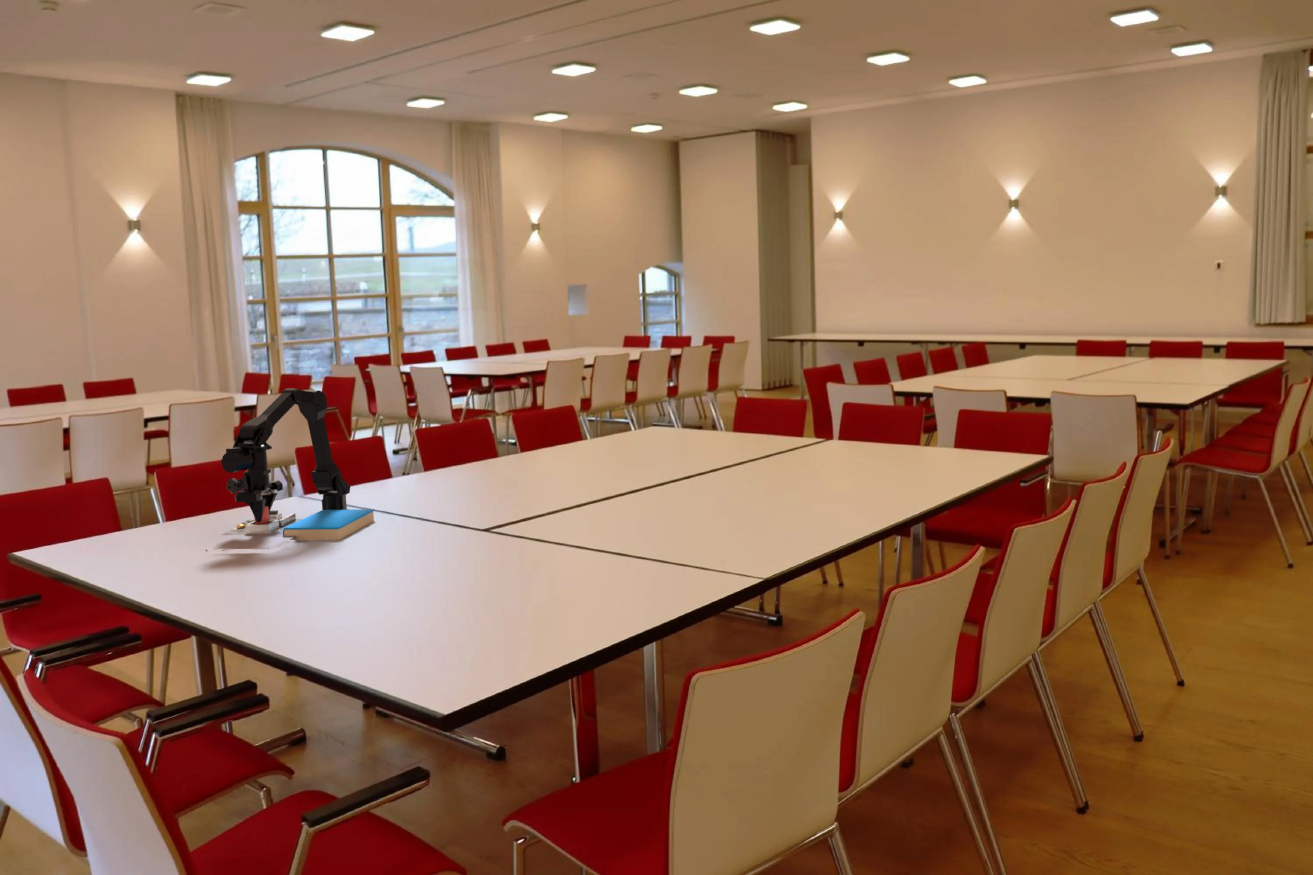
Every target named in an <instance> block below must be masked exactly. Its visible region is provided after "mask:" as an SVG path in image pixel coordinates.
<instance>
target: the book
mask: <svg viewBox="0 0 1313 875" xmlns="http://www.w3.org/2000/svg"><path fill="white" fill-rule="evenodd" d="M374 512H375V509H374V508H373V509H372V508H371V509H363V508H362V509H349V510H320V511H317V512H315V513H313V514H311V515H309V516H307V517H304V518H301V519H302V520H300V521H298V522H295V523H293V524H291V525H289V526H287V527H285V528H284V530H282V536H284V537H285V536H286V537H289V536H292V538H290V539H289V541H309V540H310V541H311V540H313V541H315V540H316V541H318V540H320V541H323V540H324V541H326V540H328V541H329V540H331V541H333V540H334V541H335V540H341V539H342V538H344V537H347V536H349V535H350V534H352V533H354V532H355V531H357V530H360V529H361V528H363V527H365V526H367V525H368V524H370V523H373V522H374V521H375V517H374V516H375V514H374ZM293 536H294V537H293Z"/></svg>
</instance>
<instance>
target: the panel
mask: <svg viewBox="0 0 1313 875" xmlns="http://www.w3.org/2000/svg"><path fill="white" fill-rule="evenodd" d="M302 519H303V518H297V517H296V513H295V512H294V513H290V514H288V515H286V516H284V517H282V519H280V520H269V521H270V523H269V524H260V525H255V520H254V519H247V520H245V521H244V522H241V524H237V525H236V527H234V528H231V530H229V531H226V532H225V533H222V534H221V536H234V535H235V536H236V535H237V536H238V535H241V536H242V535H276V534H278V533H280V532H283V530H284V528H285V527H287V526H289V525H291V524H293V523H295V522H298V521H300V520H302Z"/></svg>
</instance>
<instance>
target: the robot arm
mask: <svg viewBox="0 0 1313 875" xmlns="http://www.w3.org/2000/svg"><path fill="white" fill-rule="evenodd" d="M294 406H297V407H298V410H299V413H300V414H301V415H302V416H303V417H304V418H305V420H306V421H307V425H308V430H309V434H310V436H309V437H310V440H311V446H312V449H313V454H314V458H315V463H316V465H315V468H314V470H313V471H311V474H310V475H311V477H312V485H314V487H315V488H316V491H317V494H318V495H319V496H320V495H322V499H321V508H322V510H350V509H349V508H348V507H347V495H348V494H350V493H351V485H349V483H348V482H347V481H346V480H345V479H344V478H343V475H342V472H341V469H340V468H339V466H338V465H337V464H336V463H335V462H334V460H333V455H332V450H331V443H330V441H329V440H330V439H329V434H328V431H327V426H326V425H327V424H326V421H325V417H326V413H327V410H328V403H327V396H326V394H325V392H323V391H322V390H318V389H316V390H312V389H311V390H309V389H308V390H307V389H306V390H301V389H298V388H285V389H283V390H282V391H281V393H280V395H279V396H277V397H276V399H275V400H274V401H273V402H272V403H271V404H269V406H267V408H266V409H265V410H263V412H262V413H261V414H260V415H258V416H257V417H254V418H252V419H249V420H248V421H246V422H245V423H243V424H242V425H241V426H240V428H239V432H238V433H237V434H238V435H237V437H236V439H235V441H234V444H233V446H232V447H227V448H226V449H225V453H224V454H223V456H222V457H221V460H220V461H221V462H220V463H221V467H222V468H223V470H224V471H225V472H226V473H229V474H233V473H238V472H241V471H242V472H243V471H244V472H243V474H242V475H243V477H241V478H238V479H236V478H235V477H233V478H230V479H227V480H226V487H225V488H226V490H227V491H229V492H230V494H231V495H232V494H233V495H234V494H235V493H236V494H235V495H234V500H235V501H234V502H236V503H243V504H247V506H249V508H250V511H251V512H252V516H253V518H254V517H255V519H256V522H261V519H262V515H263V510H264V506H268V510H269V512H270V510H272V507H273V505H274V502H275V500H276V497H277V496H278V492H281V491H282V490H283V489H284V487H283V482H281V481H280V480H270V477H269V476H270V475H269V474H271V473H272V469H271V468H269V466H268V463H269V462H268V454H267V452H268V451H267V450H271V449H272V448H273V447H272V446H271V445H270V444H269V443H268V441H269V439H270V437H271V436H272V434H273V433H274V431H273V430H274V427H275V425H276V424H277V423H278V422H280V420H281V419H282V418H283V417H285V415H286V414H287V413H288V412H289V411H290V410H291V409H292V408H293V407H294ZM273 491H277V492H273ZM322 510H321V511H322Z"/></svg>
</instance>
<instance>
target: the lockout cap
mask: <svg viewBox="0 0 1313 875" xmlns="http://www.w3.org/2000/svg"><path fill="white" fill-rule="evenodd" d="M253 520H255V525H260V524H269V523H270V521H269V510H268V506H264V510H263V515H262V519H261V522H256V519H255V517H254V516H253Z"/></svg>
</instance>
